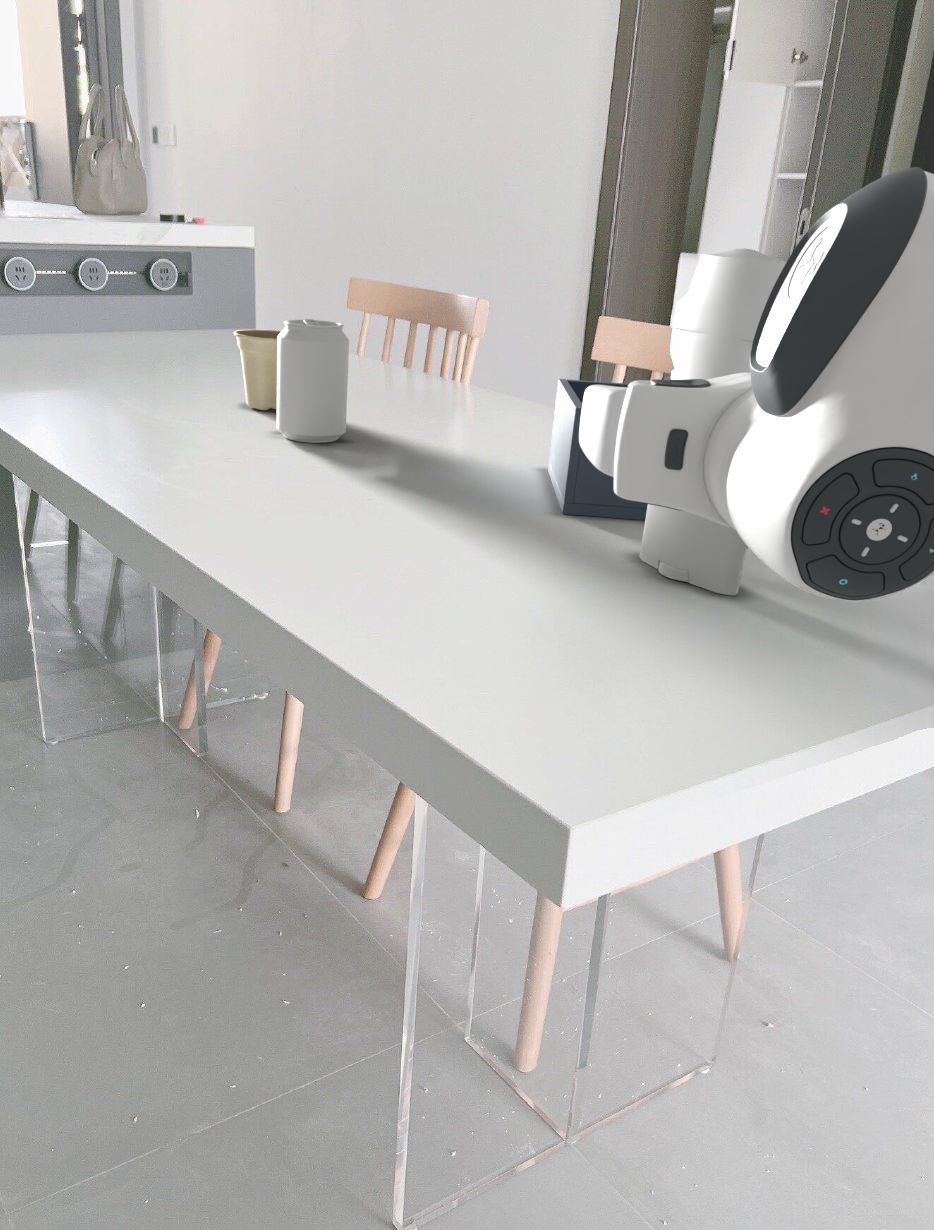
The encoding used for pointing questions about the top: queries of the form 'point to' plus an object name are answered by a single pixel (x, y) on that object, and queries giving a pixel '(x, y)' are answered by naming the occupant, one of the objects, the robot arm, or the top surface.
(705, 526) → the tall pale column
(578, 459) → the bin
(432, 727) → the top surface
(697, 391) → the robot arm
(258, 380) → the flower pot
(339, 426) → the can
